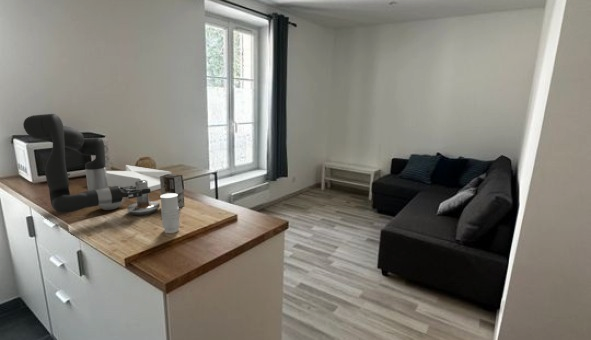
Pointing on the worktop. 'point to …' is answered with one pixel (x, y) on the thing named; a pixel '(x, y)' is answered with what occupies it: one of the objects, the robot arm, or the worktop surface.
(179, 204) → the coffee box
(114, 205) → the teacup
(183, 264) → the worktop surface
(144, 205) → the gray metal canister
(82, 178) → the worktop surface
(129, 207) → the round metal dish
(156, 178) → the white paper airplane
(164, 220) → the candle
